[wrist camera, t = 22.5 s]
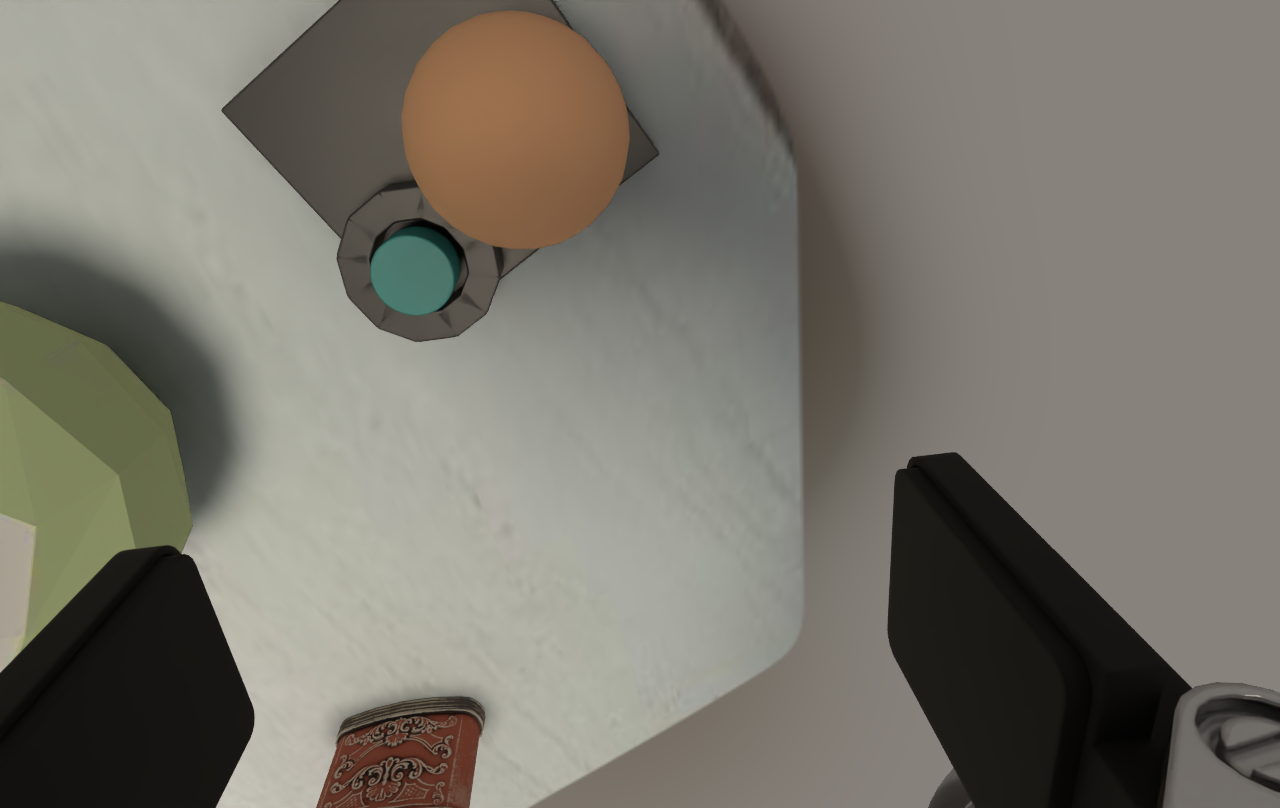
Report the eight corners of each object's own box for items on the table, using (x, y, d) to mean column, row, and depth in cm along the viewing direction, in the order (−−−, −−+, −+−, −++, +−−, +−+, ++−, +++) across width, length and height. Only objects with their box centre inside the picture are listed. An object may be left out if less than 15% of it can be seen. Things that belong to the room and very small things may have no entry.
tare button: (477, 271, 29) (471, 283, 28) (419, 317, 30) (410, 331, 28) (422, 209, 28) (413, 217, 27) (363, 258, 29) (351, 269, 27)
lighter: (351, 758, 43) (290, 946, 34) (331, 715, 41) (262, 899, 32) (491, 732, 43) (469, 913, 34) (476, 688, 41) (449, 865, 32)
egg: (506, -32, 26) (479, -71, 19) (661, 116, 29) (694, 135, 21) (386, 136, 28) (316, 164, 21) (541, 261, 31) (531, 328, 23)
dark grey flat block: (663, 159, 31) (672, 169, 28) (429, 343, 33) (416, 368, 30) (472, -113, 26) (461, -133, 24) (219, 121, 29) (182, 126, 26)
